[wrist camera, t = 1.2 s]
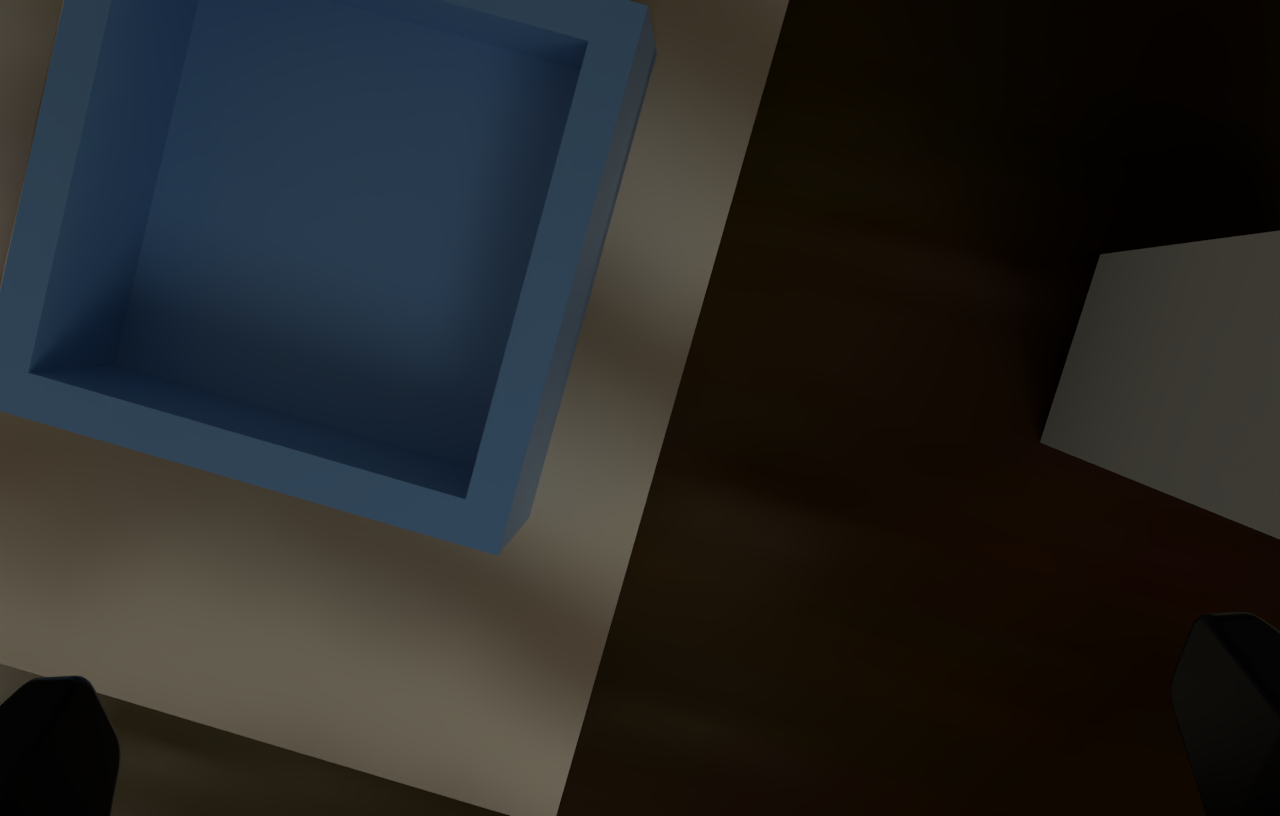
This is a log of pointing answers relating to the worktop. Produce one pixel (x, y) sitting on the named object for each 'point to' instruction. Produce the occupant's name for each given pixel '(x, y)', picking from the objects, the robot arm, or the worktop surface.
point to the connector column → (1181, 375)
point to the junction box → (323, 241)
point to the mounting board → (389, 555)
